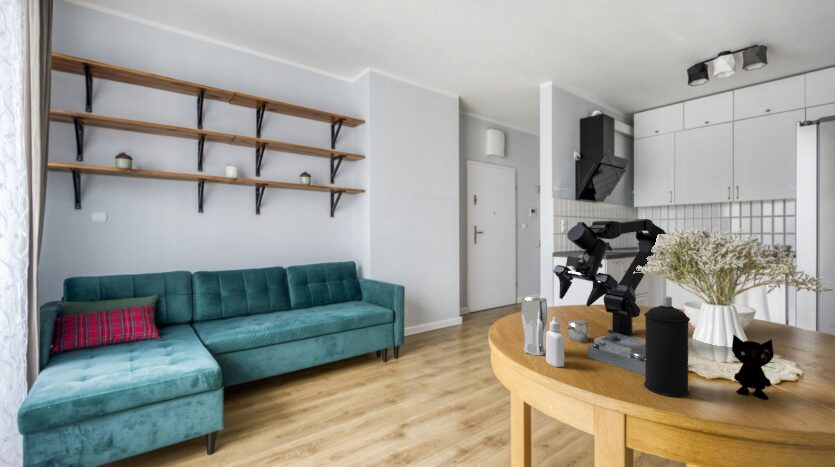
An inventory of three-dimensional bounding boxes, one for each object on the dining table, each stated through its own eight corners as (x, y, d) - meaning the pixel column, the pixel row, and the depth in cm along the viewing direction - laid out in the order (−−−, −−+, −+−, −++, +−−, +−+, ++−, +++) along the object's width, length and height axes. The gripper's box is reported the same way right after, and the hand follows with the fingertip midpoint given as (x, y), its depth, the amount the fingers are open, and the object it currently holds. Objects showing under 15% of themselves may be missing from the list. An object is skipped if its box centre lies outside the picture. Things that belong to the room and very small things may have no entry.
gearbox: (616, 347, 109) (616, 332, 109) (678, 364, 95) (678, 346, 95) (587, 357, 101) (587, 340, 101) (650, 377, 88) (650, 357, 88)
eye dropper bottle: (563, 360, 99) (563, 315, 99) (564, 368, 94) (564, 320, 93) (545, 359, 100) (545, 314, 100) (545, 366, 95) (545, 319, 95)
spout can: (575, 336, 121) (575, 318, 121) (591, 340, 116) (591, 322, 116) (559, 340, 116) (559, 322, 116) (575, 345, 112) (575, 326, 112)
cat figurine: (729, 394, 78) (730, 337, 78) (729, 384, 84) (730, 330, 83) (776, 404, 74) (777, 343, 73) (773, 392, 79) (773, 335, 79)
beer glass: (544, 348, 109) (544, 296, 109) (550, 356, 102) (550, 301, 102) (519, 347, 110) (519, 296, 110) (524, 355, 103) (523, 301, 103)
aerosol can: (691, 401, 76) (691, 301, 75) (643, 392, 80) (643, 298, 80) (688, 386, 83) (688, 295, 82) (644, 378, 87) (644, 292, 87)
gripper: (553, 241, 121) (534, 284, 118) (609, 248, 105) (588, 298, 102) (571, 257, 126) (553, 299, 123) (626, 266, 111) (607, 314, 108)
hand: (573, 302), depth 114 cm, fingers open, 9 cm apart
